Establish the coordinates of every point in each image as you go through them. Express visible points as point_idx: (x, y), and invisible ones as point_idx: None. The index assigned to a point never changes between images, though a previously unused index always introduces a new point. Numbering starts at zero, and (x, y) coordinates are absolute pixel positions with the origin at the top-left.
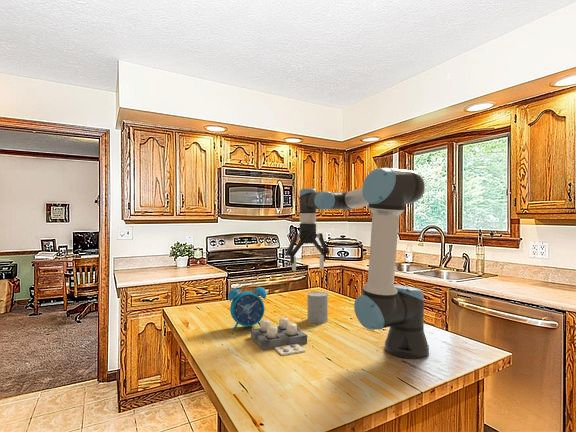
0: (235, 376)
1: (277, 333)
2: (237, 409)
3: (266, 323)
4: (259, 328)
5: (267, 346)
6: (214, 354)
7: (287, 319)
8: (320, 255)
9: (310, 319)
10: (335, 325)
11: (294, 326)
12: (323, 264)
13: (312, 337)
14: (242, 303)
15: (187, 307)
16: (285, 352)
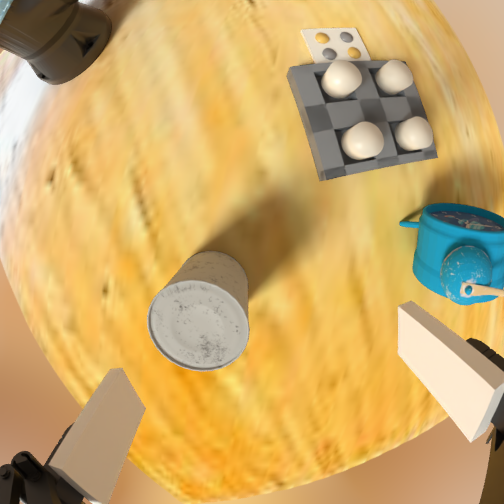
0: (415, 3)
1: (378, 73)
2: None
3: (416, 116)
4: (420, 159)
5: None
6: (466, 88)
7: (357, 129)
8: (93, 489)
9: (241, 269)
10: (162, 222)
11: (336, 61)
12: (92, 396)
13: (262, 115)
14: (492, 228)
15: None
16: (347, 32)
